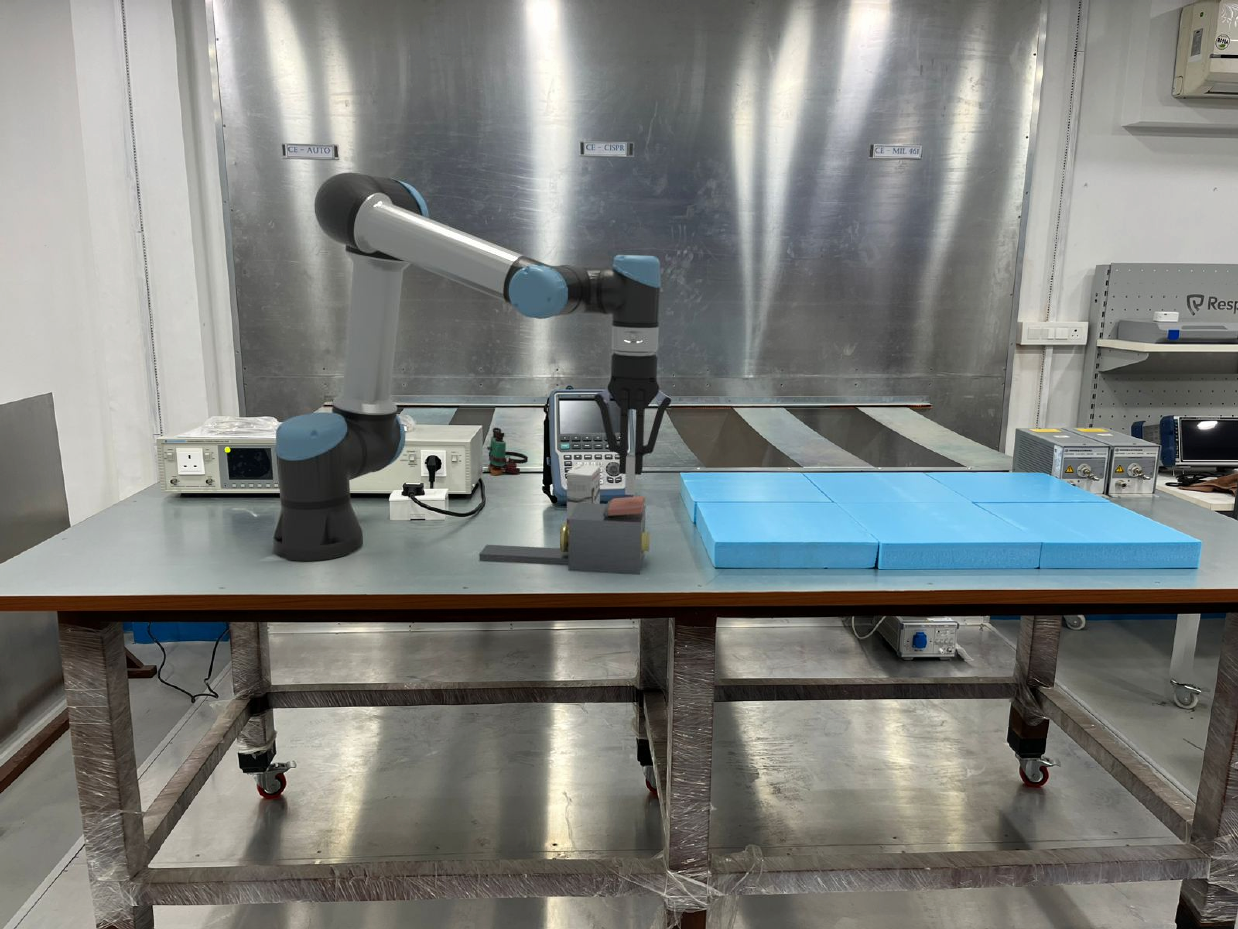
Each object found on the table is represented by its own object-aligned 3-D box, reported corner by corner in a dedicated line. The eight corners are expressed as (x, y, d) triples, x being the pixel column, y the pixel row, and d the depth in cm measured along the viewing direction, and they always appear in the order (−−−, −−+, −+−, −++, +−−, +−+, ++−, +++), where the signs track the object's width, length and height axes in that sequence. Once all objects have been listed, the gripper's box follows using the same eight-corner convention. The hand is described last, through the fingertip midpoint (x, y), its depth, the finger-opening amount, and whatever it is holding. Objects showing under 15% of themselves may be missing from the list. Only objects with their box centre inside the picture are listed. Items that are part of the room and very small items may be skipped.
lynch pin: (559, 555, 144) (559, 528, 143) (564, 546, 148) (564, 520, 147) (647, 560, 142) (648, 533, 141) (649, 550, 147) (650, 524, 146)
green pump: (532, 435, 203) (491, 433, 200) (528, 477, 205) (487, 476, 202) (525, 428, 211) (485, 426, 208) (521, 469, 213) (482, 467, 210)
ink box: (590, 535, 160) (591, 474, 157) (565, 533, 161) (565, 473, 158) (600, 521, 168) (601, 464, 166) (576, 520, 169) (577, 463, 167)
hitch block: (475, 565, 143) (474, 514, 141) (490, 546, 153) (489, 498, 151) (639, 574, 140) (640, 522, 138) (644, 554, 150) (645, 505, 148)
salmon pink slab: (602, 510, 140) (641, 507, 139) (607, 499, 147) (644, 496, 146) (603, 517, 140) (641, 514, 139) (608, 506, 147) (645, 503, 146)
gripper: (591, 353, 134) (588, 496, 139) (673, 356, 133) (667, 500, 138) (597, 348, 141) (594, 484, 147) (675, 351, 140) (669, 488, 145)
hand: (630, 492), depth 142 cm, fingers closed
